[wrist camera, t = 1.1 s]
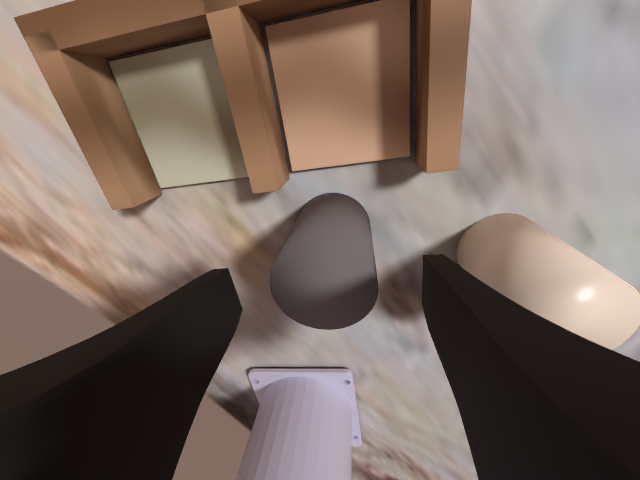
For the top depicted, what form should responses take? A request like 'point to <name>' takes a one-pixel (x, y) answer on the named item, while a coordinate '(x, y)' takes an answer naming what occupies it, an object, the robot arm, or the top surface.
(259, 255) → the top surface
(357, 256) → the charcoal plug
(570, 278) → the cream plug
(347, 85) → the open-sided tray
